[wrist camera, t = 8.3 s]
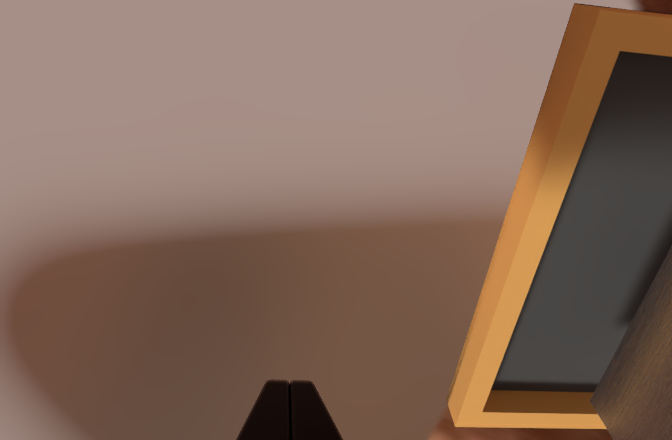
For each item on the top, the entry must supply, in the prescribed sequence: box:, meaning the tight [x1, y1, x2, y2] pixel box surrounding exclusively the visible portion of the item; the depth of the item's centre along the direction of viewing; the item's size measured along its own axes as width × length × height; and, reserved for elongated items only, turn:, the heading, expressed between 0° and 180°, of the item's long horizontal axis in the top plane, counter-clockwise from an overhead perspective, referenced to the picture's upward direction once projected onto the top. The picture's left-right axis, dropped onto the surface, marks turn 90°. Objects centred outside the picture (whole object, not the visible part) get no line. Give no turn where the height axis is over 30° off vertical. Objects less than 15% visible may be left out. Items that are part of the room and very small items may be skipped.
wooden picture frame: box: [447, 3, 672, 429], centre depth 16 cm, size 14×11×1 cm
